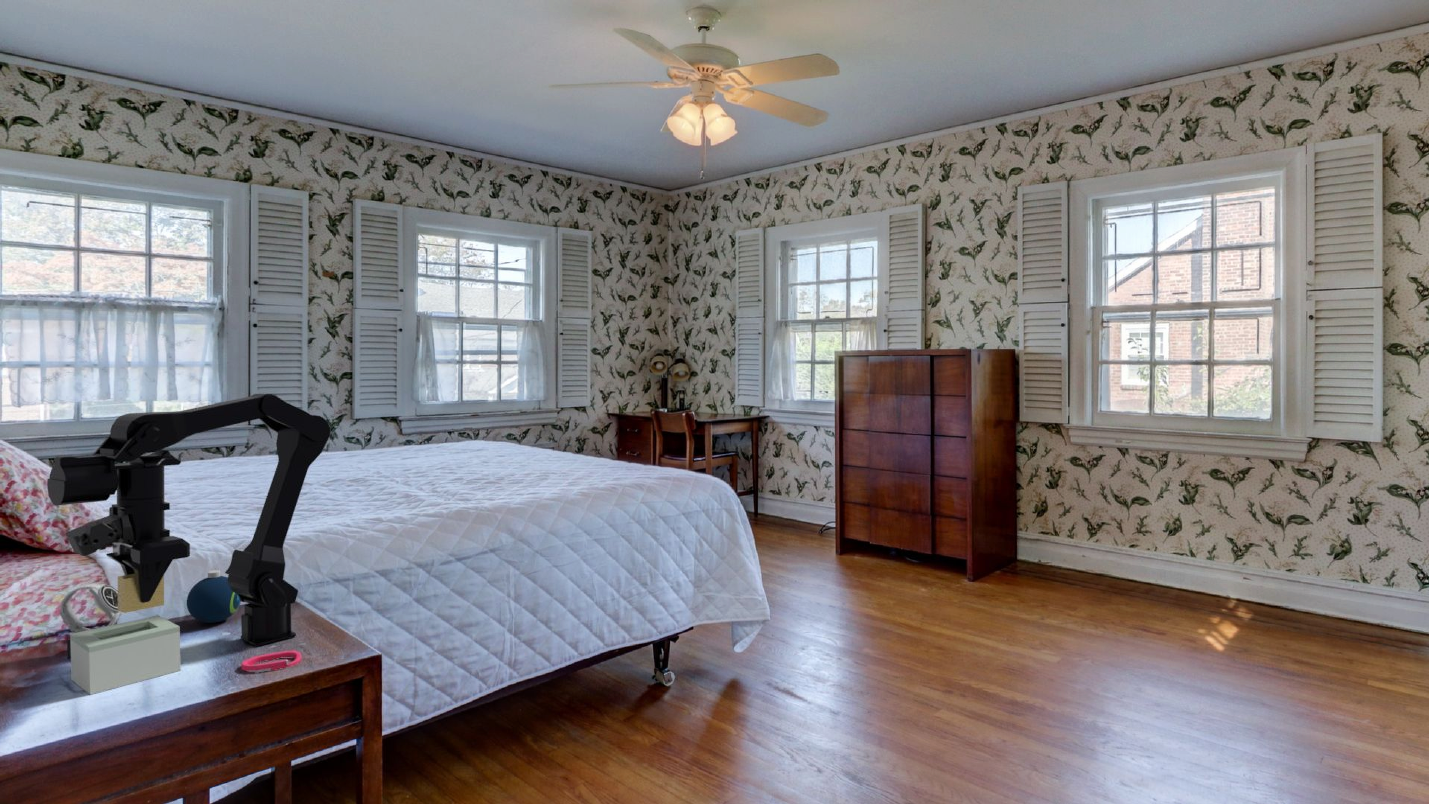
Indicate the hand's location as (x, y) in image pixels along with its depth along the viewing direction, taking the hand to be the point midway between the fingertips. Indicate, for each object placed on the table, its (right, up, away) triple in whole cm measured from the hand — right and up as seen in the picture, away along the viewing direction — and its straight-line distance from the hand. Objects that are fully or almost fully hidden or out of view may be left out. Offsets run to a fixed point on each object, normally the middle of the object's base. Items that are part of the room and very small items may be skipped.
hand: (141, 600), depth 114 cm
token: (0, -1, 0) cm, 1 cm away
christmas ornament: (-5, -11, +25) cm, 28 cm away
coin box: (-2, -11, 0) cm, 12 cm away
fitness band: (+17, -12, +5) cm, 21 cm away
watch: (-15, -11, +10) cm, 21 cm away
